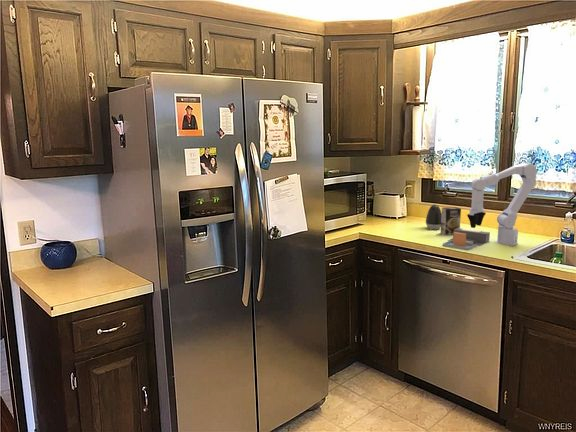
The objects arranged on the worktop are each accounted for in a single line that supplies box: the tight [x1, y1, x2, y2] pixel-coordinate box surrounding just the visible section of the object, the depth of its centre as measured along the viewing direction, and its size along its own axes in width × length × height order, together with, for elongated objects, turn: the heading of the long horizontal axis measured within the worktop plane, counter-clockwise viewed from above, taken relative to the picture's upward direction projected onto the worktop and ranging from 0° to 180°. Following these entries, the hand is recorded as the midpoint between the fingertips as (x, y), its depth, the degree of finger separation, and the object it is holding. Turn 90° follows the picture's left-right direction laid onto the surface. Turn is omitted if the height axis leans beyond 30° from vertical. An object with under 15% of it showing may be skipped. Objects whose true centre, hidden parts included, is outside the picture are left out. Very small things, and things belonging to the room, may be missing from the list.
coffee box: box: [440, 206, 462, 236], centre depth 270 cm, size 9×6×16 cm
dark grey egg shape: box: [425, 204, 442, 230], centre depth 287 cm, size 10×10×15 cm
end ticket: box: [452, 232, 466, 247], centre depth 243 cm, size 6×2×7 cm, turn 47°
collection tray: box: [442, 239, 478, 251], centre depth 243 cm, size 14×10×2 cm
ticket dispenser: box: [447, 227, 491, 247], centre depth 253 cm, size 18×13×6 cm
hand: (475, 226), depth 249 cm, fingers open, 7 cm apart
